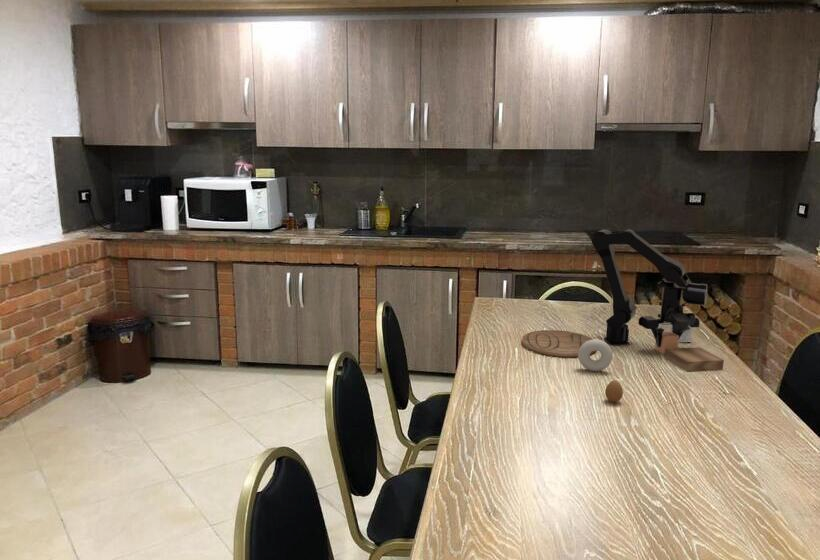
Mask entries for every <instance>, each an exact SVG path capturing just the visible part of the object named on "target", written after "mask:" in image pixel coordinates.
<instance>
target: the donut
mask: <svg viewBox="0 0 820 560" xmlns="http://www.w3.org/2000/svg"><path fill="white" fill-rule="evenodd" d="M592 339H593V340H589V341H586V342H585V343H584V344H582V346H581V347H580V349H579V352H578V358H577V359H578V361H579V363H580V365H581V366H582V367H583V368H584V369H587V370H588V371H591V372H601V371H604V370H605V369H608V367H609V366H610V365H611V363H612V362H613V359H614V358H613V350H612V348H611V346H609V345H610V344H608V342H605V340H601V339H596V338H595V339H594V338H592ZM595 350H596V351H597V352H599V353H600V357H599V358H598V359H595V360H594V359H592V358H591V356H590V353H591V352H592V351H595Z"/></svg>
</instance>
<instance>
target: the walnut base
mask: <svg viewBox="0 0 820 560" xmlns="http://www.w3.org/2000/svg"><path fill="white" fill-rule="evenodd" d="M664 358H665V359H666V360H668V362H669V361H670V362H671V363H673V364H674V365H676V366H677V367H679V368H681V369H683V370H684V371H685V370H686V371H685V372H696V371H697V372H698V371H699V370H702V371H714V370H715V371H717V370H718V371H719V370H723V369H724V361H725V360H724V359H722V358H720V357H719V356H717V355H715V354H713V353H712V352H710V351H707V349H704V348H702V347H699V346H697V347H695V346H694V347H681V348H680V347H678V348H674V349H666V351H665V354H664ZM699 372H700V371H699Z"/></svg>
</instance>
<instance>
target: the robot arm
mask: <svg viewBox="0 0 820 560" xmlns="http://www.w3.org/2000/svg"><path fill="white" fill-rule="evenodd" d="M590 239H591V245H592V246H593V249H594V250H595V252H596V254H597V255H598V256H599V257H600V259H601V262H602V265H603V269H604V272H605V275H606V279H607V282H608V286H609V288H610V291H611V296H612V313H613V315H611V316H610V317H608V318H607V319H606V320H605V322H606V330H605V332H606V333H605V337H603V341H604V342H605V341H606V343H607V344H608V343H609V345H612V346H617V345H619V346H620V345H630V342H629V336H630V335H629V334H630V329H629V325H628V323H629V322H630V321H632V319H633V318H635V315H636V313H637V311H636V310H637V309H638V307H637V305H636V303H635V298H634V297H631V298H630V297H629V296H628V294H627V293H626V289H625V286H624V282H623V280H622V279H623V278H622V276H621V275H622V274H621V271H620V269H619V265H618V262H617V258H616V256H615V246H616V245H618V244H623V243H624V244H627V245H628V246H630V247H631V248H632V249H633V250H635V251H636V253H638V254H639V255H641V256H642V257H644V258H645V259H646V260H647V261H649V262H650V263H651V264H652V265H654V267H655V268H656V269H657V271H658V273H659V274H660V275H661V276H662V277H663V278H662V280H661V281H659V282H658V283H657V284H656V287H658V288H659V287H661V288H662V296H661V301H659V302H658V305H659V306H661V307H660V313H658V314H657V318H655V317H654V316H651V315H642V316H640V317H639V318H638V325H639V326H641V327H643V328H644V329H646V330H651V332H652V334H653V337H654V340H655V342H656V343H657V346H658V347H660V346H661V339H662V332H664V331H665V328H663V326H665V325H671V324H672V332H673V333H675V334H677V335H678V336H679V339H680V337H681V335H682V334H683V332H685V331H686V330H689V329H690V328H689V326H690V327H692V328H700V323H701V321H700V319H699V317H696V314H695V313H694V312H688V313H687V312H684V308H683V307H684V306H683V305H681V304H682V303H681V302H682V300H683V302H685V304H689V305H697V306H706V305H707V302H708V296H709V293H708V284H707V283H695V282H692V281H691V279H690V278H689V277H688V274H687V273H686V266H685V265H684V264H683V263H682V262H680V261H678V260H677V259H674V258H672V257H670V256H667V255H665V254H664V253H662V252H660V251H659V250H658V249H657V248H656V247H654V246H653V245H651V244H650V243H649V242H648V241H646V240H645V239H644V238H643V237H641V236H639V235H638V234H637V233H636V232H635V231H634V230H633V229H631V228H630V229H626V230H613V231H611V230H609V229H601V230H599V231H596V232H594V233H593V234H592V236H591V238H590ZM615 244H616V245H615Z"/></svg>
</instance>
